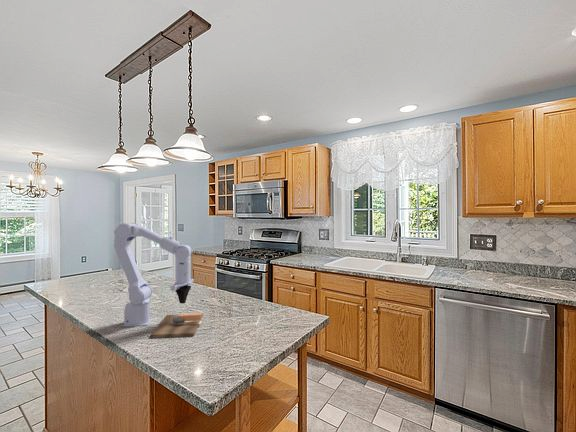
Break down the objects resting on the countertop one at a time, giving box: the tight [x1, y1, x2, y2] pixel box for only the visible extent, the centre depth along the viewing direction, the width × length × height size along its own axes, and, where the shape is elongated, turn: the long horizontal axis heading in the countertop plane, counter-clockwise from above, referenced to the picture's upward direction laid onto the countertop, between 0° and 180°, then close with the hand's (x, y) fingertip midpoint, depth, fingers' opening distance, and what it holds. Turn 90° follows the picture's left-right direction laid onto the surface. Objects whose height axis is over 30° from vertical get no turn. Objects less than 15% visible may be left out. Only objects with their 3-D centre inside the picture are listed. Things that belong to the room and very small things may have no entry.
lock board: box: [150, 313, 203, 339], centre depth 120 cm, size 17×22×2 cm
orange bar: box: [173, 312, 203, 323], centre depth 120 cm, size 12×5×2 cm, turn 101°
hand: (182, 302), depth 125 cm, fingers closed
